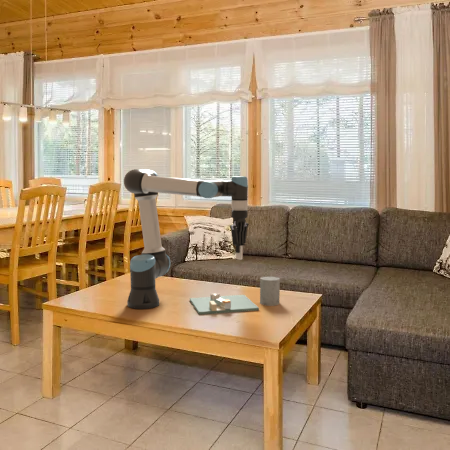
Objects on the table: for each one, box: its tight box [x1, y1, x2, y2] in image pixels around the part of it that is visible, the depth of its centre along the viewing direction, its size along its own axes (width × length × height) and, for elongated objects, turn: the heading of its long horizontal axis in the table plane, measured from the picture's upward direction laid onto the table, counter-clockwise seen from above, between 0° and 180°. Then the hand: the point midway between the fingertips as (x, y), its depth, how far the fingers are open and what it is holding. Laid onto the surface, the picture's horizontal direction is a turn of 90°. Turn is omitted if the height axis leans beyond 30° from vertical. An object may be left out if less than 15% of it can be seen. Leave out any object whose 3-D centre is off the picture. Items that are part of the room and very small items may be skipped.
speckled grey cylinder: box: [259, 275, 281, 307], centre depth 237 cm, size 10×10×12 cm
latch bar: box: [209, 292, 231, 309], centre depth 228 cm, size 14×4×4 cm, turn 31°
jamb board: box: [189, 294, 260, 315], centre depth 234 cm, size 28×24×4 cm
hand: (239, 259), depth 231 cm, fingers closed
